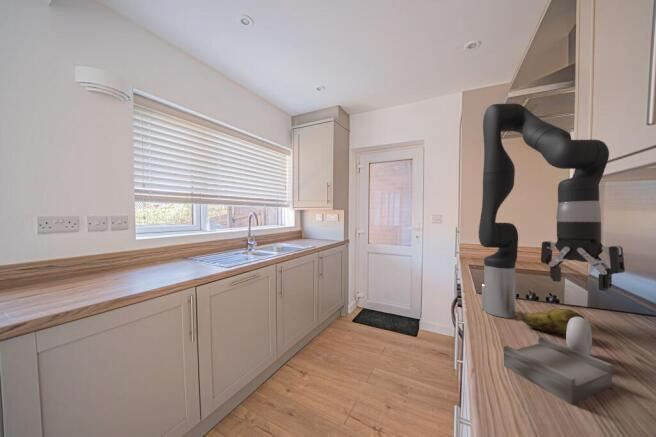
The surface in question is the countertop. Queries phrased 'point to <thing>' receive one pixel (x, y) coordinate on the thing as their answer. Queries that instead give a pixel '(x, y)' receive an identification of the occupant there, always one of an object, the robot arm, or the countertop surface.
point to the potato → (551, 320)
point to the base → (560, 369)
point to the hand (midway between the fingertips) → (578, 285)
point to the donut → (579, 335)
